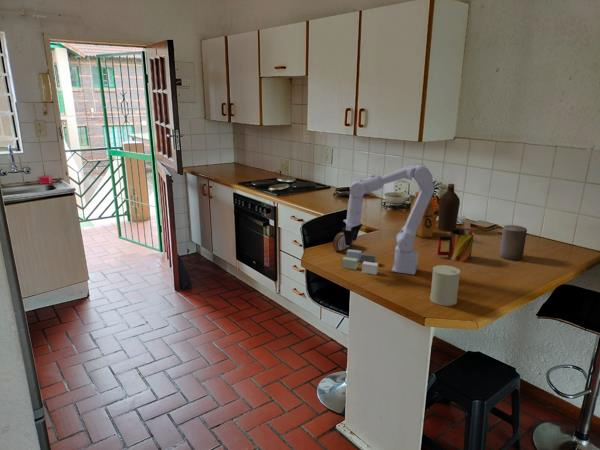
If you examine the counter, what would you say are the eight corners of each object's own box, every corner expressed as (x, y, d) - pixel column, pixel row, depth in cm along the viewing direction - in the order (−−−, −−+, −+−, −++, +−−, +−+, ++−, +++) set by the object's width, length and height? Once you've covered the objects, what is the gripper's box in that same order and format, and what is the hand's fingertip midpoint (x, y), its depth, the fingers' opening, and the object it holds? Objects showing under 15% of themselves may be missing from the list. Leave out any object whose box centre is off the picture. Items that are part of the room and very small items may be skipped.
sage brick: (357, 267, 184) (358, 258, 183) (355, 270, 181) (356, 261, 180) (344, 265, 186) (344, 256, 185) (342, 267, 183) (342, 259, 182)
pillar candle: (527, 260, 194) (532, 227, 190) (507, 261, 192) (512, 228, 188) (513, 252, 203) (518, 221, 199) (494, 253, 201) (498, 222, 197)
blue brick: (361, 259, 193) (361, 250, 192) (359, 261, 191) (359, 253, 189) (348, 257, 195) (348, 249, 194) (346, 259, 193) (346, 251, 192)
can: (450, 308, 148) (454, 275, 145) (425, 300, 154) (428, 268, 151) (461, 299, 155) (465, 268, 152) (436, 292, 161) (439, 261, 158)
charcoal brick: (375, 263, 189) (376, 254, 188) (374, 265, 186) (374, 256, 185) (362, 261, 191) (362, 252, 190) (360, 263, 188) (361, 254, 187)
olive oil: (455, 233, 232) (460, 186, 225) (434, 230, 236) (439, 184, 229) (458, 227, 241) (463, 183, 234) (438, 225, 245) (442, 181, 238)
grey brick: (377, 272, 179) (378, 263, 178) (376, 275, 176) (376, 265, 175) (363, 270, 181) (363, 261, 180) (361, 272, 178) (362, 263, 177)
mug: (436, 257, 196) (438, 231, 193) (459, 252, 202) (462, 228, 199) (451, 264, 188) (454, 237, 185) (475, 259, 193) (478, 234, 190)
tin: (349, 244, 213) (350, 227, 211) (355, 245, 211) (356, 228, 209) (332, 252, 202) (332, 234, 199) (337, 253, 200) (338, 236, 198)
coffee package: (419, 239, 221) (422, 196, 215) (406, 232, 233) (409, 191, 226) (435, 237, 224) (440, 195, 218) (422, 230, 236) (425, 190, 229)
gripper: (349, 206, 185) (346, 236, 189) (339, 213, 172) (336, 245, 176) (366, 208, 182) (362, 239, 186) (357, 216, 169) (353, 249, 173)
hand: (350, 242), depth 181 cm, fingers open, 7 cm apart
